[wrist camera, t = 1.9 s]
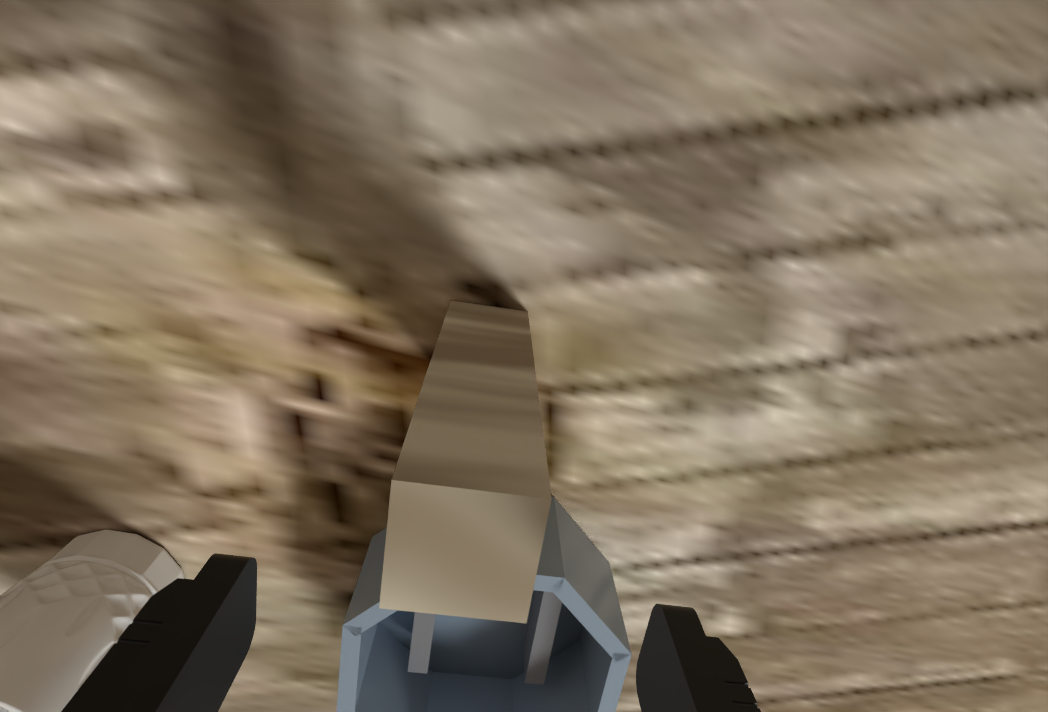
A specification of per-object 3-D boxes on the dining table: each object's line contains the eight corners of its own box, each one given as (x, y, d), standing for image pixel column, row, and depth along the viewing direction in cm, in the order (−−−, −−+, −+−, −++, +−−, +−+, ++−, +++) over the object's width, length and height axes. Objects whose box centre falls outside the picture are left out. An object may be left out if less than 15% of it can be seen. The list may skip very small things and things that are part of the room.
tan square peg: (450, 300, 27) (391, 480, 13) (527, 311, 27) (551, 499, 13) (441, 372, 28) (378, 608, 14) (515, 382, 29) (526, 623, 14)
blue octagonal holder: (377, 475, 30) (347, 554, 24) (624, 505, 31) (650, 587, 25) (360, 666, 34) (332, 771, 29) (578, 687, 35) (592, 792, 30)
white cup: (179, 656, 34) (53, 858, 24) (31, 612, 32) (-162, 807, 23) (217, 549, 31) (94, 727, 22) (59, 496, 30) (-144, 662, 21)
